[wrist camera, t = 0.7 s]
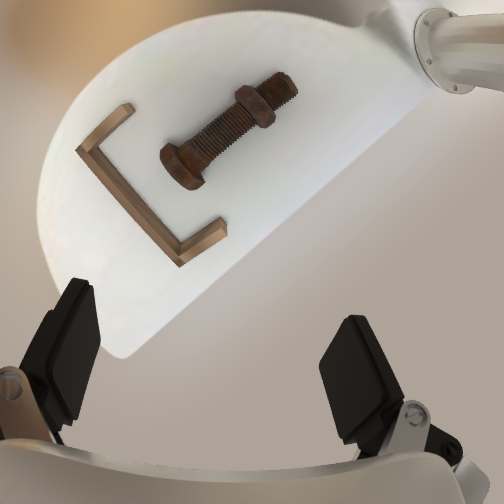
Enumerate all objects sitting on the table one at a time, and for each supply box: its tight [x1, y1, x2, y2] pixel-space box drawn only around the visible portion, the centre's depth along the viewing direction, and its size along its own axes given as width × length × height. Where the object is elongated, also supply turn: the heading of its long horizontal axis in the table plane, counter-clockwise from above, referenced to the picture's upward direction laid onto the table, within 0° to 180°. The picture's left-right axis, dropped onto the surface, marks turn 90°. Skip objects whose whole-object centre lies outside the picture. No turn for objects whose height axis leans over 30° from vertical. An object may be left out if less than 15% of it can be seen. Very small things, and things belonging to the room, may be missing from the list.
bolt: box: [160, 72, 298, 190], centre depth 28 cm, size 6×5×15 cm
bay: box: [75, 103, 227, 268], centre depth 31 cm, size 7×18×3 cm, turn 33°
